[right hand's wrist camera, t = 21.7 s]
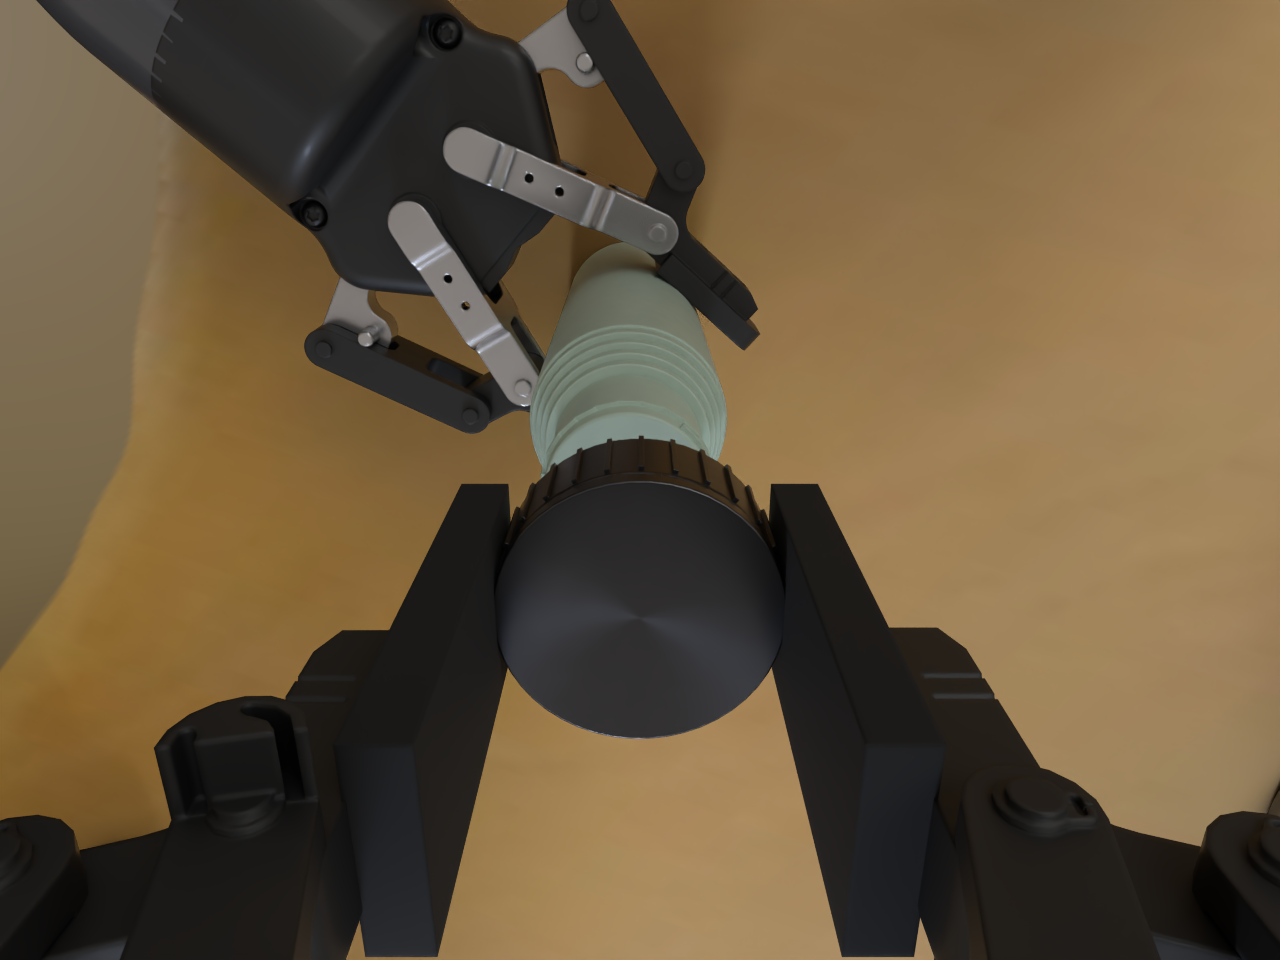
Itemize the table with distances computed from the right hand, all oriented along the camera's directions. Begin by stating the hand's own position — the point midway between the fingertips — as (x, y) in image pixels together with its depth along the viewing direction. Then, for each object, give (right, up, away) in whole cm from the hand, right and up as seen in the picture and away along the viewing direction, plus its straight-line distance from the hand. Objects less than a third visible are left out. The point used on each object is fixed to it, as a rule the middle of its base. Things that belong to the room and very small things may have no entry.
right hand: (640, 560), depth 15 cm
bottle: (0, +8, +19) cm, 21 cm away
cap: (0, -1, -1) cm, 2 cm away
